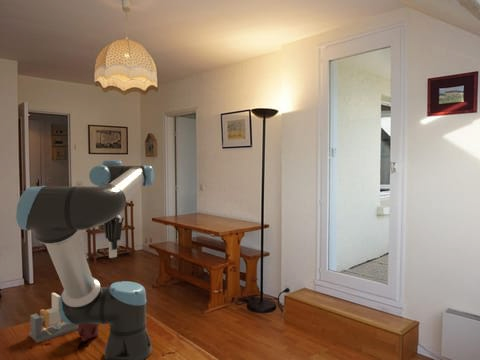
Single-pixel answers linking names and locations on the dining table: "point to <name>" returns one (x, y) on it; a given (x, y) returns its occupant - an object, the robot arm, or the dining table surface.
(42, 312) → the orange flat plate
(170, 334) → the dining table surface
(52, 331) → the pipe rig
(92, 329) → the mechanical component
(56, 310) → the sleeve
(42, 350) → the dining table surface
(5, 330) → the dining table surface
